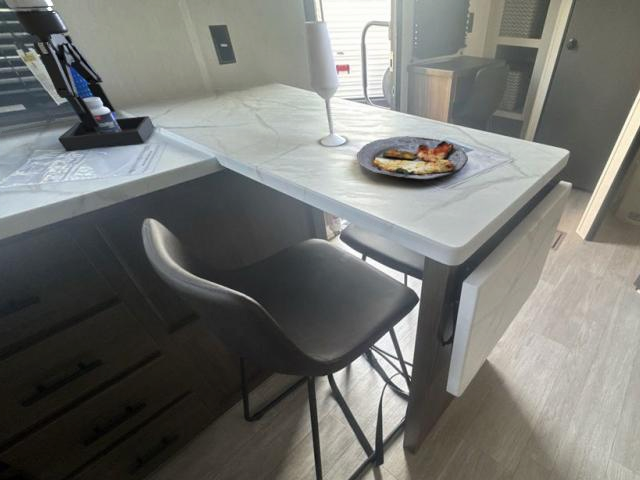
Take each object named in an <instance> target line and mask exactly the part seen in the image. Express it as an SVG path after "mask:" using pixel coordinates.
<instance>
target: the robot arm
mask: <svg viewBox="0 0 640 480" xmlns="http://www.w3.org/2000/svg"><path fill="white" fill-rule="evenodd" d="M4 2H5V3H6V5H7V7H8V8H10V9H13V10H14V12H13V14H14V17H15V18H16V19H17V21H18V23H19V24H20V26H21V27H22V29H23V30H24V32H25V33H26V34H28V35H31V36H36V37H37V39H38V40H39V41H35V42H34V41H33V42H32V44H33V46H34V48H35V50H36V51H37V53H38V55H39V56H40V59H41V61H42V63H43V65H44V67H45V70H46V73H47V74H48V77H49V79H50V81H51V83H52V85H53V87H54V90H55V92H56V95H58V96H59V98H61V99H66V98H67V99H68V101H69V102H70V104H71V105H72V107H73V108H74V110H75V111H76V113H77V114H78V116H79V117H80V119H81V120H80V119H79V120H80V122H81V121H82V122H83V124H84V125H85V127H86V128H92V127H99V126H100V125H99V124H98V122H97V120H96V119H95V117H94V116H93V114H92V112H91V111H90V109H89V108H88V106H87V104H86V103H85V101H84V100H83V98H82V97H81V96H78V93H77V90H76V87H75V84H74V80H73V77H72V74H71V71H70V67H72V68H73V69H74V70H75V71H76V72H77V73H78V74H79V75H80V76H81V77H82V78H83V79H84V80H85V81H86V82H87V83H90V84H87V86H88V88H89V89H90V91H91V93H92V94H93V96H94V97H99V98H100V99H101V101H102V102H103V106H104V107H107V108H108V109H109V110H110V111H111V112H113V113H115V112H116V109H115V108H114V105H113V104H112V102H111V100H110V99H109V97H108V96H107V94H106V92H105V90H104V89H103V87H102V85H101V84H100V83H102V84H103V82H104V81H103V79H102V77H100V75H99V73H98V72H97V71H96V69H95V68H94V67H93V65H92V64H91V63H90V61H89V60H88V59H87V57H86V56H85V54H84V53H83V52H82V51H81V50H80V48H79V46H78V45H77V44H76V42H75V40H74V39H73V37H72V36H71V35H70V34H67V33H68V32H69V28H68V27H67V25H66V23H65V22H64V20H63V18H62V16H61V14H60V13H59V12H58V11H57V10H54V9H53V7H55V6H54V3H53V1H52V0H4ZM67 99H66V100H67ZM68 101H67V102H68ZM69 102H68V103H69ZM70 104H69V105H70ZM71 105H70V106H71ZM72 107H71V108H72ZM73 108H72V109H73ZM74 110H73V111H74ZM75 111H74V112H75ZM76 113H75V114H76ZM77 114H76V115H77ZM78 116H77V117H78ZM79 117H78V118H79Z"/></svg>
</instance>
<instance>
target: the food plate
mask: <svg viewBox="0 0 640 480" xmlns="http://www.w3.org/2000/svg"><path fill="white" fill-rule="evenodd" d="M356 157H357V158H356V159H357V161H358V163H359V164H360V165H361V166H362V167H363V168H366V169H367V170H368V171H370V172H373V173H375V174H378V173H379V174H384V175H388V176H390V177H391V176H392V177H398V178H405V179H408V178H409V179H415V180H435V179H441V178H443V177H447V176H452V175H454V174H455V173H458V172H460V171H461V170H463V168H464V167H465V166H466V164H467V162H468V161H469V157H468V154H467V153H466V152H465V151H464V150H463V149H462V148H461V147H460V146H457V145H455V144H454V143H451V142H447V141H445V140H441V139H436V138H434V139H433V138H429V137H428V138H427V137H420V136H408V135H405V136H404V135H403V136H393V137H388V138H381V139H376V140H373V141H370V142H369V143H366V144H364V145H363V146H362V147H361V149H360V150H358V152H356Z"/></svg>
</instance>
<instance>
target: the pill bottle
mask: <svg viewBox="0 0 640 480" xmlns="http://www.w3.org/2000/svg"><path fill="white" fill-rule="evenodd" d="M83 100H84V101H85V103H86V104H87V106H88V108H89V109H90V111H91V112H92V114H93V116H94V117H95V119H96V120H97V122H98V124H99V125H100V126H99V127H94V128H95V129H96V131H97V133H98V134H103V133H113V132H122V130H121V129H120V127H119V125H118V123H117V122H116V120H115V118H114V117H113V115H112V113H111V111H110V110H109V109H108V108H107V107H104V106H103V102H102V101H101V99H100V98H99V97H89V98H84V99H83Z"/></svg>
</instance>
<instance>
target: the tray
mask: <svg viewBox="0 0 640 480" xmlns="http://www.w3.org/2000/svg"><path fill="white" fill-rule="evenodd" d="M115 120H116V122H117V123H118V125H119V127H120V129H121V130H122V132H113V133H103V134H98V133H97V131H96V129H95V128H94V127H92V128H86V127H85V125H84V124H83V122H81V121H78V122H76V123H75V124H73V126H71V127H70V128H69V129H68V130H66V131H65V132H64V133H63V134H61V136H59V137H57V140H58V142H59V143H60V144H61V146H62V147H63V148H64V149H65V151H66V152H70V151H71V152H72V151H73V152H74V151H82V150H90V149H92V150H93V149H101V148H110V147H111V148H113V147H118V146H119V147H121V146H129V145H141V144H145V143H146V141H147V140H148V138H149V137H150V136H151V134H152V132H153V131H154V129H155V128H156V127H155V125H154V123H153V120H151V118H150V116H149V115H146V116H135V117H123V118H116V119H115ZM152 123H153V124H152Z"/></svg>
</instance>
